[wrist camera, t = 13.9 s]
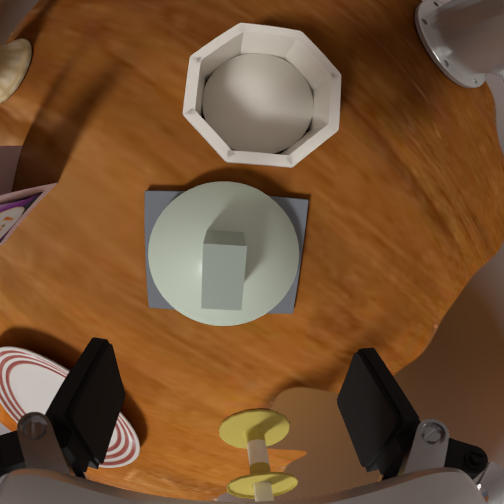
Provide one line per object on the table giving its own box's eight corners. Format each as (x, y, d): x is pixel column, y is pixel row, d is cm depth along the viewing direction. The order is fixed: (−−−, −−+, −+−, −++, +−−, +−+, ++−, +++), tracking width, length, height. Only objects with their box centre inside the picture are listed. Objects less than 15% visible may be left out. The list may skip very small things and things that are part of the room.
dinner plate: (68, 317, 26) (55, 333, 23) (174, 453, 35) (173, 469, 32) (-24, 347, 26) (-34, 358, 23) (64, 452, 35) (59, 463, 32)
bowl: (321, 59, 20) (341, 40, 16) (313, 170, 24) (334, 173, 19) (201, 46, 19) (195, 21, 14) (188, 161, 22) (179, 160, 18)
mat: (306, 199, 24) (308, 200, 24) (291, 310, 28) (292, 313, 27) (146, 190, 23) (145, 190, 22) (150, 304, 26) (148, 307, 25)
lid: (305, 188, 23) (324, 195, 19) (286, 322, 27) (297, 352, 22) (152, 178, 22) (133, 182, 17) (154, 315, 26) (141, 345, 21)
